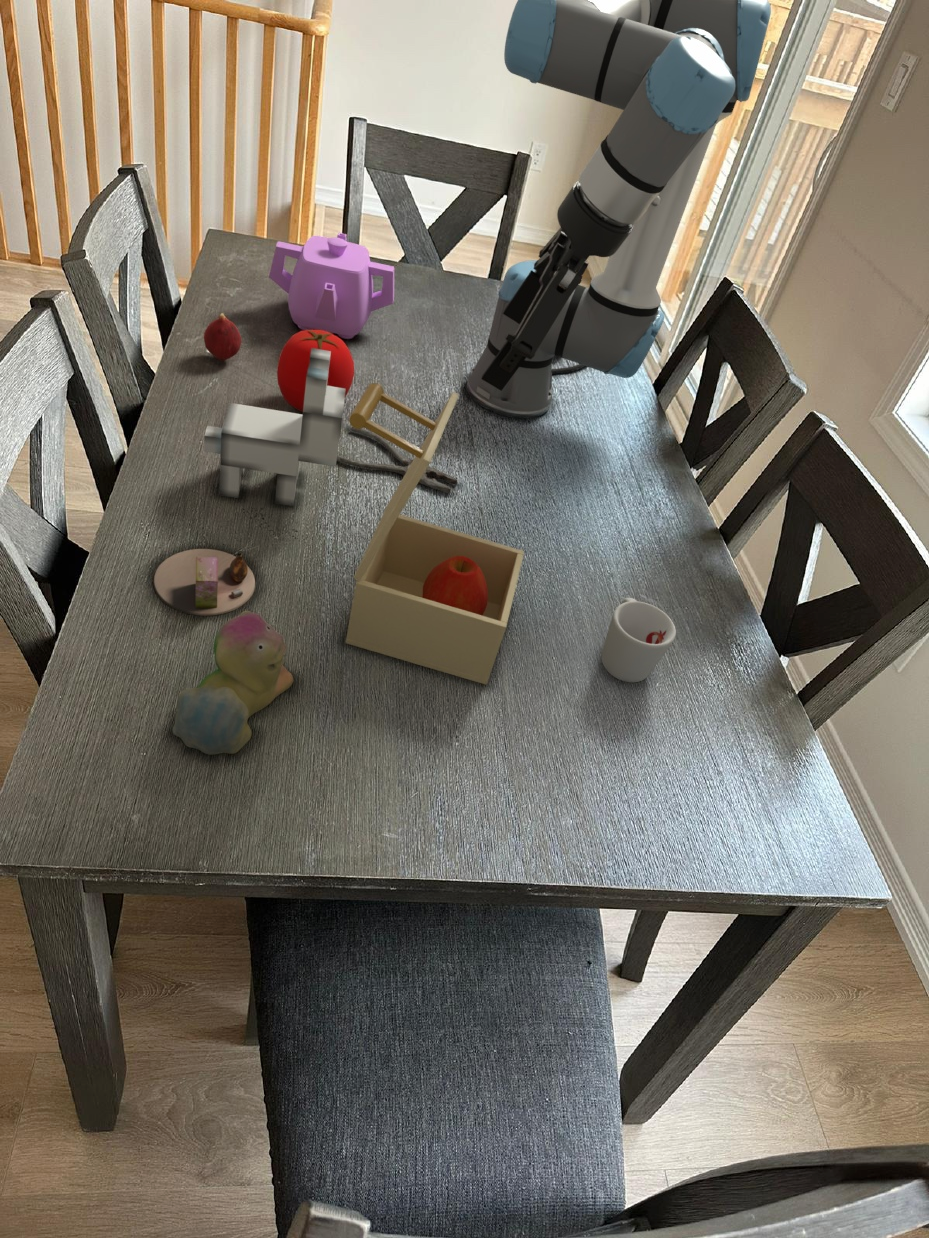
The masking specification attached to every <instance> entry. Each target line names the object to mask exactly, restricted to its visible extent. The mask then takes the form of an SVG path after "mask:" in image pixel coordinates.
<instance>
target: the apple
mask: <svg viewBox="0 0 929 1238" xmlns="http://www.w3.org/2000/svg"><path fill="white" fill-rule="evenodd" d="M423 598H424V599H428V600H431V601H434V602H438V603H441V604H445V605H448V606H451V607H455V608H458V609H461V610H465V611H468V612H472V613H475V614H478V615H483V613H484V611H485V609H486V607H487V602H488V591H487V585H486V581H485V578H484V575H483V573H482V571H481V569H480V567H479V566H478V565H477V564H476V563H475V562H474V561H472V560H471V559H469V558H467V557H464V556H455V557H451V558H449V559H447V560H445V561H443V562H442V563H440V564H439V565H437V566H436V567H435V568H433V570H432V571H431V572H430V573H429V575H428V576H427V578H426V580H425V582H424V585H423Z"/></svg>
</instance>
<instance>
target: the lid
mask: <svg viewBox="0 0 929 1238" xmlns="http://www.w3.org/2000/svg"><path fill="white" fill-rule="evenodd" d="M459 397H460V395H459V394H458V393H457V392H455V391H452V392H451V393H450V395H449V397H448V399H447V401H446V402H445V405H444V406H443V408H442V409H441V412H440V413H439V415H438V416H437V418H436V420H435V421H434V420H432V419H431V418H428V417H427V416H425V415H423V414H422V413H420V412H418V411H416V410H414V409H413V408H411V407H409V406H407V405H406V404H405V403H402V402H401V401H400V400H398V399H395V398H394V397H392V396H390V395H389V394H387V393H385V391H384V388H383V386H382V385H381V384H380V383H377V382H372V383H370V384H368V386H367V387H366V388H365V391H364V392H363V393H362V395H361V397H360V399H359V400H358V402H357V404H356V406H355V407H354V409H353V410H352V412H351V413H350V415H349V417H348V421H349V424H350V426H351V427H354V428H356V429H364V428H365V430H367V431H369V432H371V433H374V434H376V435H378V436H380V437H381V438H383V439H384V440H386V441H387V442H389V443H391V444H392V445H395V446H396V447H398V448H401V449H402V450H403V451H406V452H407V453H409V454H411V455H412V456H414V458H413V459H412V460H413V462H412V463H411V465H410V467H409V469H408V470H407V472H406V474H405V476H403V477H402V479H401V481H400V483H399V484H398V486H397V488H396V490H395V491H394V493H393V495H392V497H391V498H390V500H389V502H388V503H387V505H386V507H385V509H384V511H383V513H382V516H381V518H380V519H379V522H378V524H377V527H376V528H375V531H374V533H373V534H372V537H371V539H370V541H369V543H368V545H367V548H366V550H365V551H364V553H363V556H362V558H361V560H360V563H359V565H358V567H357V569H356V571H355V574H354V575H353V579H354V580H356V581H357V580H358V581H360V580H361V578H362V576H363V575H364V573H365V571H366V570H367V568H368V566H369V565H370V563H371V561H372V560H373V558H374V556H375V555H376V553H377V551H378V550H379V548H380V546H381V544H382V543H383V541H384V539H385V538H386V536H387V534H388V533H389V531H390V529H391V528H392V526H393V524H394V523H395V521H396V519H397V518H398V516H399V514H400V515H401V513H402V511H403V509H404V508H405V506H406V504H407V502H408V501H409V500H410V497H411V496H412V494H413V492H414V491H415V489H416V487H417V485H418V484H419V481H420V479H421V477H422V475H423V474H424V472H425V470H426V469H427V467H428V466H429V465H430V464H431V462H432V460H433V458H434V454H435V452H436V451H437V448H438V445H439V443H440V441H441V439H442V436H443V434H444V432H445V429H446V427H447V424H448V422H449V419H450V417H451V415H452V413H453V411H454V408H455V406H456V403H457V401H458V399H459ZM380 402H382V403H384V404H385V405H387V406H389V407H390V408H393V409H394V410H396V411H398V412H399V413H401V414H403V415H404V416H407V417H408V418H409V419H412V420H414V421H415V422H417V423H419V424H420V425H422V426H424V427H426V428H427V429H429V432H428V434H427V436H426V438H425V439H424V441H423V442H422V444H421V445H420V447H418V446H417V445H415V444H413V443H411V442H409V441H408V440H407V439H404V438H402V437H400V436H399V435H397V434H395V433H394V432H391V431H390V430H389V429H386V428H384V427H383V426H381V425H379V424H378V423H376V422H374V421H372V420H370V419H371V416H372V415H373V413H374V412H375V409H376V408H377V406H378V404H379V403H380Z"/></svg>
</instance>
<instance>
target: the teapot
mask: <svg viewBox="0 0 929 1238" xmlns="http://www.w3.org/2000/svg"><path fill="white" fill-rule="evenodd" d="M347 237H348V234H346V233H343V232H338V233H337V235H336V237H333V236H332V237H327V236H321V235H312V236H311V237H309V238H308V239H307V240H306V242H305V244H304V245H303V246H302V245H298V244H293V243H288V242H284V241H280V240H278V241H277V242H276V245H275V249H274V253H273V258H272V261H271V266H270V270H269V275H268V278H269V279H270V280H271V281H272V282H274V283H275V284H276V285H277V286H278V287H279V288H281V289H282V290H283V291H284V292H286V293H287V295H288V297H287V302H288V311H289V315H290V317H291V319H292V321H293V323H294V324H295V325H297V327H298V328H299V330H302V331H304V330H306V329H307V330H323V331H327V332H329V333H333V334H337V336H338V337H339V338H342V339H345V340H346V339H347V340H350V339H353V338H354V337H355V336H356V335H359V333H360V332H361V331H362V330H363V328H364V327H365V326H366V324H367V322H368V320H369V318H370V317H371V313H372V312H373V311H376V310H379V309H382V308H385V307H388V306H391V305H393V304H394V301H395V266H393V265H389V264H385V263H384V264H383V263H380V262H376V261H371V259H370V257H371V256H370V252H369V250H368V248H367V247H366V246H365V245H362V244H358V243H354V242H351V241H348V239H347ZM286 256H287V257H289V258H292V259H295V260H297V261H296V263H295V264H294V265H295V266H294V268H293V271H292V274H291V273H290V272H289V271H287V270H286V269H284V268H285V263H286V262H285V261H286ZM373 276H376V277H382V287H381V290H379V291H375V292H374V281H373Z"/></svg>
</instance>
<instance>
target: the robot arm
mask: <svg viewBox="0 0 929 1238" xmlns="http://www.w3.org/2000/svg"><path fill="white" fill-rule="evenodd" d="M771 15H772V7H771V4H770V2H769V1H768V0H517V1H516V3H515V5H514V9H513V11H512V14H511V17H510V20H509V24H508V28H507V33H506V36H505V43H504V51H503V52H504V54H503V55H504V57H503V58H504V65H505V67H506V69H507V71H508V72H509V73H511V74H513V75H515V76H517V77H520V78H523V79H526V80H528V81H529V82H531V83H532V84H535V85H536V84H541V85H543V86H546V87H549V88H553V89H556V90H560V91H563V92H567V93H569V94H572V95H576V96H580V97H583V98H587V99H588V100H589V99H590V100H592V101H595V102H597V103H601V104H603V105H607V106H610V107H613V108H616V109H619V110H623V111H622V112H621V114H620V115H619V117H618V119H617V120H616V121H615V124H614V125H613V127H612V128H611V130H610V132H609V133H608V134H606V136H605V138H604V139H603V140H602V141H601V142H600V143H599V145H598V147H597V148H596V150H595V151H594V153H593V154H592V156H591V158H589V160H588V162H587V163H586V164H585V166H584V168H583V170H582V171H581V172H580V174H579V178H578V181H576V182H575V183H574V184H573V185H572V187H571V188H570V190H569V191H568V193H567V194H566V195H565V197H564V199H563V200H562V202H561V203H560V205H559V207H558V209H557V212H556V217H557V221H558V224H559V228H558V230H557V231H556V233H554V235H553V236H552V237H551V238H550V239H549V241H548V242H547V243H546V244H545V245H544V247H542V249H540V250H539V252H538V259H535V260H525V261H520V262H516V263H514V264H513V265H511V266H510V267H509V268H508V269H507V270H506V272H505V274H504V277H503V280H502V283H501V287H500V288H499V290H498V294H497V295H498V298H497V302H496V307H495V310H494V315H493V319H492V323H491V327H490V331H489V335H488V340H487V343H486V347H485V349H484V350H483V352H482V353H481V354H480V357H479V359H478V361H477V363H476V365H475V366H473V367H472V368H471V370H470V372H469V374H468V376H467V381H466V386H465V387H466V391H467V393H468V395H469V397H470V398H471V399H472V400H473V401H474V402H475V403H476V404H478V405H479V406H481V407H483V408H484V409H485V410H488V411H490V412H492V413H494V414H497V415H500V416H504V417H508V418H514V419H533V418H537V417H540V416H543V415H544V414H546V413H547V412H548V410H549V409H550V406H551V402H552V399H553V376H552V375H554V374H562V373H569V372H575V371H577V370H580V369H583V368H585V367H588V368H589V369H593V370H596V371H598V372H602V373H603V374H604V375H612V376H615V377H619V378H622V379H629V378H631V377H634V375H636V374H637V373H638V371H639V370H640V368H641V366H642V365H643V363H644V361H645V359H647V356H648V354H649V352H650V351H651V348H652V346H653V344H654V343H655V340H656V337H657V336H658V333H659V332H660V330H661V328H662V325H663V323H664V320H665V314H664V312H662V311H661V310H659V309H660V306H661V303H662V298H661V296H660V294H659V292H658V289H657V286H658V283H659V281H660V279H661V275H662V273H663V271H664V267H665V264H666V262H667V259H668V256H669V253H670V251H671V248H672V245H673V243H674V241H675V237H676V234H677V232H678V229H679V227H680V223H681V222H682V218H683V216H684V213H685V210H686V208H687V204H688V202H689V200H690V197H691V194H692V192H693V188H694V187H695V183H696V181H697V178H698V175H699V172H700V169H701V167H702V165H703V161H704V159H705V156H706V153H707V151H708V148H709V145H710V143H711V139H712V137H713V134H714V133H715V129H716V126H717V125H718V124H719V122H721V121H723V120H724V119H726V118H728V117H729V116H732V114H733V112H734V108H735V106H736V103H737V101H738V102H739V103H742V102H747V101H748V100H749V99H750V96H751V92H752V88H753V84H754V81H755V77H756V73H757V70H758V66H759V62H760V58H761V54H762V51H763V46H764V42H765V39H766V36H767V35H766V34H767V31H768V28H769V27H768V26H769V23H770V19H771ZM590 257H598V258H607V262H606V265H605V268H604V270H603V271H602V272H600V273H598V274H596V275H594V276H593V277H592V279H591V280H590V283H589V286H588V287H587V286H584V285H581V283H582V281H583V280H582V279H583V275H584V273H585V272H586V271H587V268H588V266H589V264H590V263H589V262H588V259H589V258H590ZM555 356H556V357H559V358H562V359H565V360H568V361H570V362H572V363H573V362H574V363H576V365H572V366H568V367H561V368H560V367H559V368H552V364H553V361H554V357H555Z"/></svg>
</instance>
